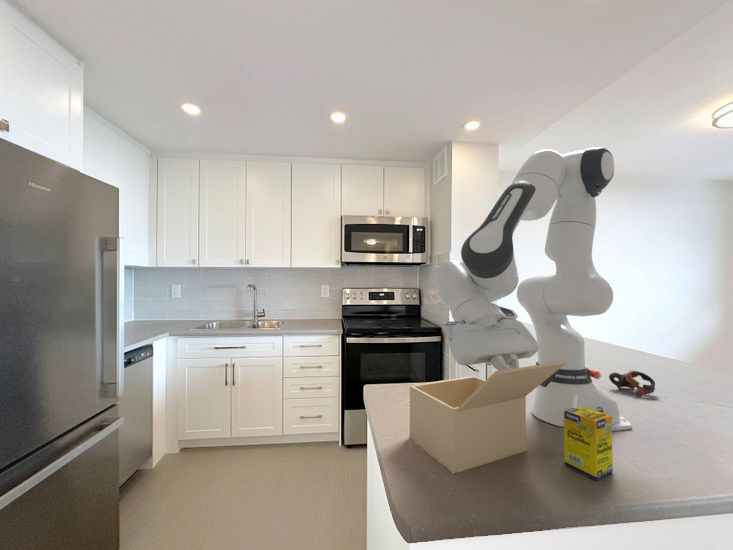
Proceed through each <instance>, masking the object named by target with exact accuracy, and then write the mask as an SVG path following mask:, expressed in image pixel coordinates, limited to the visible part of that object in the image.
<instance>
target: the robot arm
mask: <svg viewBox="0 0 733 550" xmlns="http://www.w3.org/2000/svg"><path fill="white" fill-rule="evenodd" d="M614 174H615V161H614V157H613V154H612V152H611V151H610V150H608V149H607V148H605V147H603V146H602V147H598V146H597V147H590V148H586V149H585V150H577V151H574V152H568V153H565V154H561V153H559V152H558V151H556V150H552V149H542V150H538V151H536V152H534V153H532V155H530V156H529V157H528V158H527V159H526V160H525V162H524V163H523V164H522V166H521V167H520V168H519V171H518V172H517V173H516V174H515V177H514V179H513V180H512V183H511V184H510V185H509V186H507V188H506V189H505V190H504V191H503V192H502V194H501V195H500V197H499V198H498V199H497V201H496V202H495V203H494V205H493V207H492V209H491V210H490V211H489V213H488V215H487V217H485V219H484V221H483V222H482V223H481V225H480V226H479V227H478V228H476V229H475V231H473V232H472V233H471V234H470V235H469V236H468V237H467V238H466V239H465V241H464V242H463V244H462V247H461V250H460V252H461V253H460V254H461V255H460V257H461V260H462V261H458V260H453V259H451V260H447V261H445V262H443V263H442V264H441V265H439V266H438V268H437V269H436V271H435V273H434V276H433V282H434V286H435V290H436V292H437V294H438V297H440V299H441V301H442V303H443V305H444V306H445V308H447V309H448V310H449V312H450V314H451V317H452V320H453V321H451V320H447V321H445V323H444V324H443V325H442V330H441V331H442V332H443V334H444V336H445V338H446V341H447V345H448V347H449V350H450V352H451V355H452V357H453V358H454V360H455V362H456V363H458V364H459V365H460V366H470V365H479V364H480V365H481V364H488V363H490V364H491V365H492V367H493V369H496V371H501V370H508V369H514V368H520V361H519V360H522V359H530V358H531V357H533V356H534V355H535V354H537V361H536V362H535V365H542V364H549V363H555V362H562V361H564V362H565V363H566V364H565V365H563V366H562V367H561V368H560V369H559V370H557V371H556V372H555V373H554V374H552V375H551V376H550V377H549V378H547V379H546V380H545V381H544V382H543V383H541V384H540V385H539V386H538V387H536V388H535V389H536V391H535V397H534V401H533V404H532V409H531V414H532V415H533V416H534V417H536V418H538V419H539V420H541V421H544V422H546V423H549V424H551V425H554V426H558V427H561V428H564V410H568V409H572V408H576V407H578V406H583V407H587V408H590V409H592V410H595V411H599V412H602V413H605V414H608V415H611V416H612V432H615V431H623V430H631V429H632V427H633V426H632V424H631V422H630V421H629V420H628V419H626V418H625V417H623V416H622V415H620V410H619V406H618V402H616V400H615V399H614V398H613V397H612V396H611V395H610V394H609V393H607V392H606V391H604V390H603V389H602V388H601V387H599V386H598V385H597V384H595V383H594V382H593V379H592V378H594V379H595V380H600V379H601V378H602V373H601V372H600V371H598V370H595V369H589V368H587V367H586V359H585V358H586V356H585V353H586V351H585V350H586V349H585V340H584V338H583V336H582V334H580V333H579V332H578V331H576V330H575V328H573V327H572V325H571V324H570V321H569V320H568V316H572V317H591V316H592V317H593V316H598V315H599V316H600V315H603V314H605V313H607V311H609V309H610V308H611V306H612V304H613V301H614V291H613V288H612V287H611V285H610V283H609V282H608V280H606V279H605V278H604V277H602V276H601V275H600V274H599V273H598V271H597V269H596V268H595V266H594V262H593V255H592V254H593V244H594V239H595V237H594V235H595V232H596V231H595V229H596V225H597V224H596V222H597V203H596V201H597V200H596V198H597V197H598V196H600V195H601V194H602V191H603V189H605V188H606V187H607V186H608V185H609V184H610V183H611V180H612V179H613V178H614ZM553 206H554V207H553ZM552 208H553V210H552V213H551V216H550V219H549V224H548V228H547V235H546V239H545V240H546V241H545V246H544V254H545V256H546V257H547V258H549V260H551V261H553V262H554V264H555V269H556V270H555V275H554V274H553V275H551V274H550V275H537V276H532V277H530V278H529V277H528V278H526V279H523V280H522V281H520V283H519V274H518V269H517V264H516V259H515V253H514V252H515V251H514V242H513V241H514V240H513V237H514V232H515V231H516V229H517V227H519V226H518V225H519V224H520V222H521V221H524V222H525V221H526V222H527V221H529V222H530V221H537V220H539V219H540V220H541V219H542V218H545V217H546V216H547V214H549V212H550V211H551V209H552ZM516 288H517V289H516ZM514 291H516V298H517V302H518V303H519V305H520V306H522V308H523V309H524V311H526V312H527V315H529V317H530V319H531V322H532V324H533V325H532V326H533V328H534V331H535V335H536V337H534V336H533V334H532V333H531V332H530V330H529V329H528V328H527V327H526V326H525V323H523V322H521V321H520V320H518V316H519V315H518V314H517V312H515V311H514V310H513V309H510V308H507V307H503V306H500V305H498V304H496V303H495V302H496V301H498V300H500V299H503V298H505V297H507V296H509V295H511V294H512V293H513V292H514Z"/></svg>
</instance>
